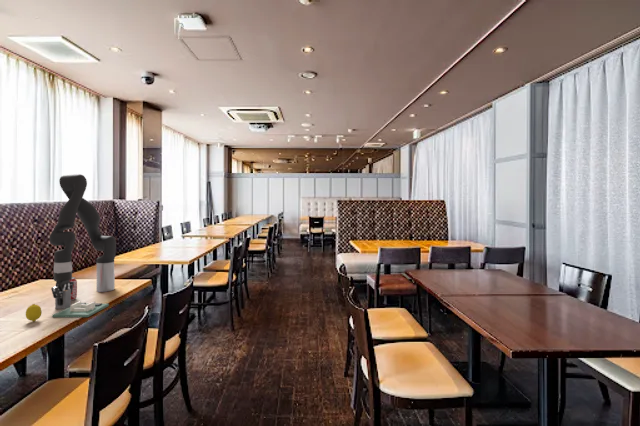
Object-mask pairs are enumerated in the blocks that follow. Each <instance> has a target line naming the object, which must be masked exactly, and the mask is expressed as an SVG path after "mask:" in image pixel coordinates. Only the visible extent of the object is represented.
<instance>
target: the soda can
mask: <svg viewBox="0 0 640 426" xmlns="http://www.w3.org/2000/svg"><path fill="white" fill-rule="evenodd" d="M70 282H74V285H73V290H72V293H71V301H74V300H75V299H77V296H78V281H77V279H76V276H75V277H74V276H72V279H71V280H70Z"/></svg>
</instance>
